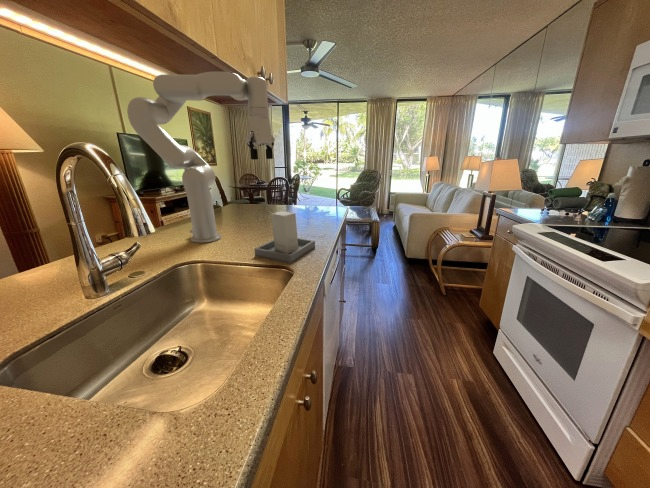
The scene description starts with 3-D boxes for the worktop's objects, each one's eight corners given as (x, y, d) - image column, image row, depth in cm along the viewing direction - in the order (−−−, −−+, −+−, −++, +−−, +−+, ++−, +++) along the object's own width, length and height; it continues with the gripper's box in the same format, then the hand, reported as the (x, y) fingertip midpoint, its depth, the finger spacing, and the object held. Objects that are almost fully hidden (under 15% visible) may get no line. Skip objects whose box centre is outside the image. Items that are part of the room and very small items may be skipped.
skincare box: (298, 250, 102) (297, 213, 97) (286, 254, 98) (284, 215, 93) (285, 245, 108) (283, 209, 103) (273, 249, 104) (270, 212, 99)
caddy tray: (255, 256, 99) (254, 248, 98) (282, 242, 115) (282, 235, 114) (290, 263, 93) (290, 255, 92) (315, 247, 108) (315, 240, 107)
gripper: (265, 116, 113) (268, 158, 119) (235, 111, 98) (240, 159, 104) (279, 115, 110) (281, 158, 116) (251, 110, 95) (255, 159, 101)
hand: (262, 159), depth 110 cm, fingers open, 9 cm apart
